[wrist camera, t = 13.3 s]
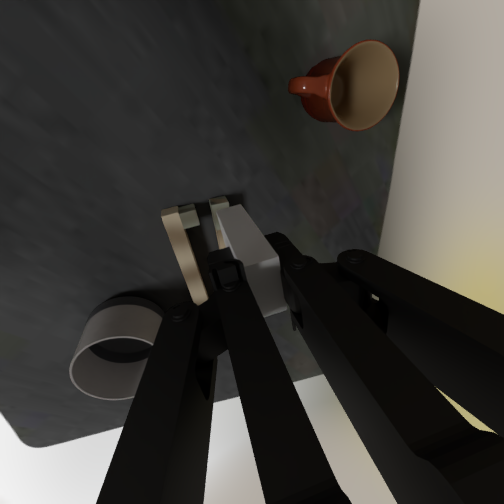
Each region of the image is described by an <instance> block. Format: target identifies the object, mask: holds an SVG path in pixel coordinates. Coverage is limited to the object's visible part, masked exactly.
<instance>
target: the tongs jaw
mask: <svg viewBox="0 0 504 504" xmlns="http://www.w3.org/2000/svg"><path fill="white" fill-rule="evenodd" d="M209 202H210V207H211V212H212V217H213V222H214V225H215V230H216V235H217V240H218V245H219V249H223V248H226V246H225V243H224V239H223V235H222V232H221V228H220V224H219V220H218V217H217V213H216V211H217V210H220V209H224V208H228V207H229V202H228V200H227V199H226V197H225V196H221V197H216V198H211V199H209Z"/></svg>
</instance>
